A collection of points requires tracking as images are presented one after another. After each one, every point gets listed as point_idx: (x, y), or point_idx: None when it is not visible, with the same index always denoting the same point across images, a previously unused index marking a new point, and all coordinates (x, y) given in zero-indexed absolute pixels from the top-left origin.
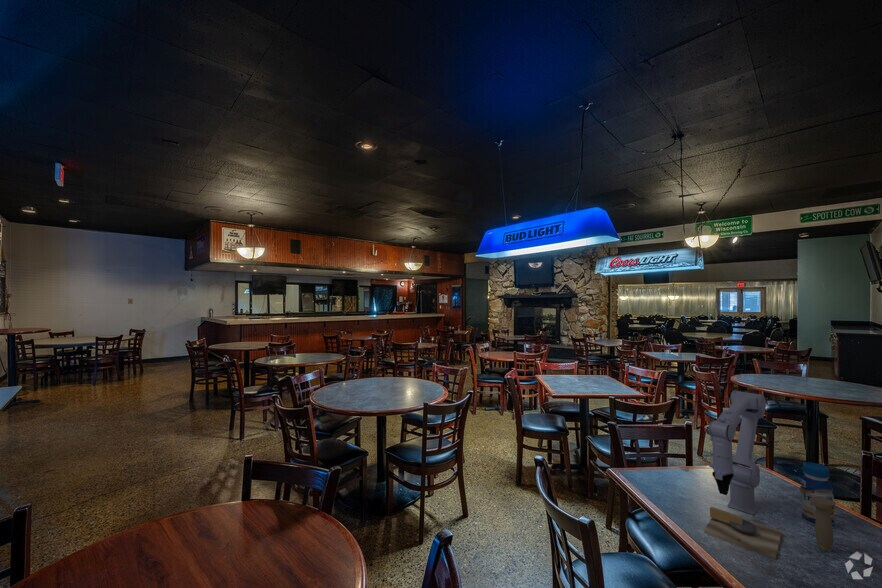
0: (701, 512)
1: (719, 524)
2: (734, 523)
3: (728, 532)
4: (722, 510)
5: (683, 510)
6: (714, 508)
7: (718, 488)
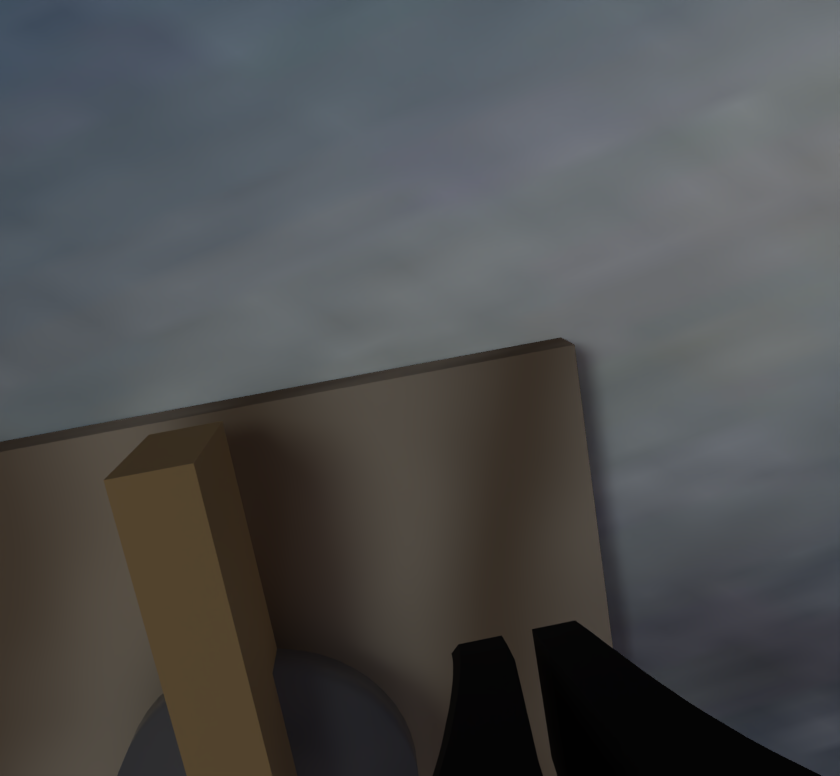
0: (391, 205)
1: None
2: (177, 751)
3: (44, 683)
4: (234, 631)
5: (202, 5)
6: (173, 531)
7: (448, 712)
